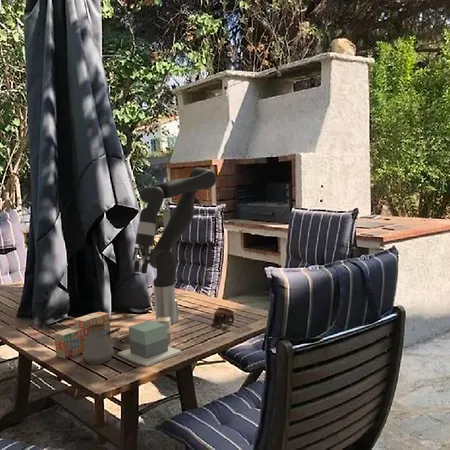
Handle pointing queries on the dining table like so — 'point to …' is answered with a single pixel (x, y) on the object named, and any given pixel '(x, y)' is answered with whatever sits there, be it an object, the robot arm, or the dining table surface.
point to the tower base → (148, 343)
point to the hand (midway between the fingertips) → (139, 272)
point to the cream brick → (167, 321)
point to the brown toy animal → (222, 319)
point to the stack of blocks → (79, 334)
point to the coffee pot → (98, 345)
